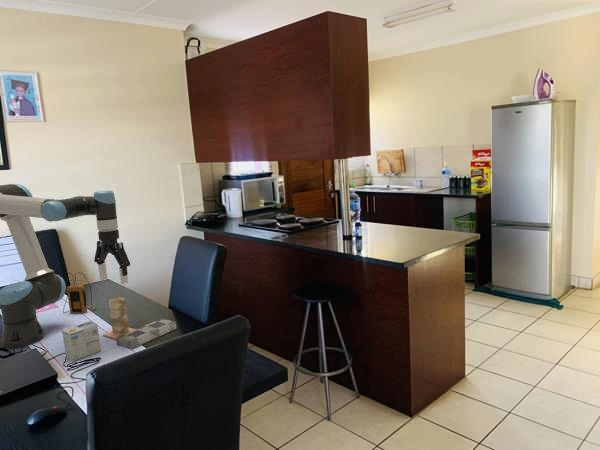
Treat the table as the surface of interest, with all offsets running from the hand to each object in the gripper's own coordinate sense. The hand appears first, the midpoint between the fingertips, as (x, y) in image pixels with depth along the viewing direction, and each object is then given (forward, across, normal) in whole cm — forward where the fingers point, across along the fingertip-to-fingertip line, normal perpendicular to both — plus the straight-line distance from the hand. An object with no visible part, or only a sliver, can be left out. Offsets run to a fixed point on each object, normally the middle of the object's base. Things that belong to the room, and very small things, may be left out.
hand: (114, 281), depth 184 cm
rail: (+22, -14, -3) cm, 26 cm away
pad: (+22, -1, 0) cm, 22 cm away
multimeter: (+23, +44, -11) cm, 51 cm away
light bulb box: (+22, -5, +19) cm, 30 cm away
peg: (+22, -1, 0) cm, 22 cm away
